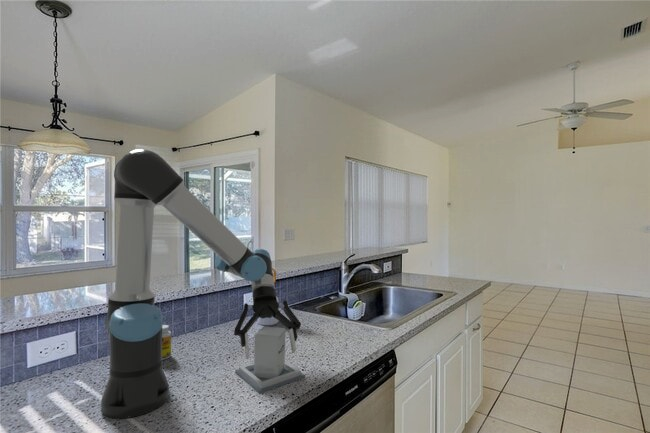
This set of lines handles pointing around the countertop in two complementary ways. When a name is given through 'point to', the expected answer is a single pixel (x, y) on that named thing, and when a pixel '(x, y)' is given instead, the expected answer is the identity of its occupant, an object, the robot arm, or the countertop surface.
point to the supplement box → (269, 352)
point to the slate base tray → (266, 384)
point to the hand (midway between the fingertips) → (271, 354)
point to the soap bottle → (271, 320)
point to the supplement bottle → (166, 342)
